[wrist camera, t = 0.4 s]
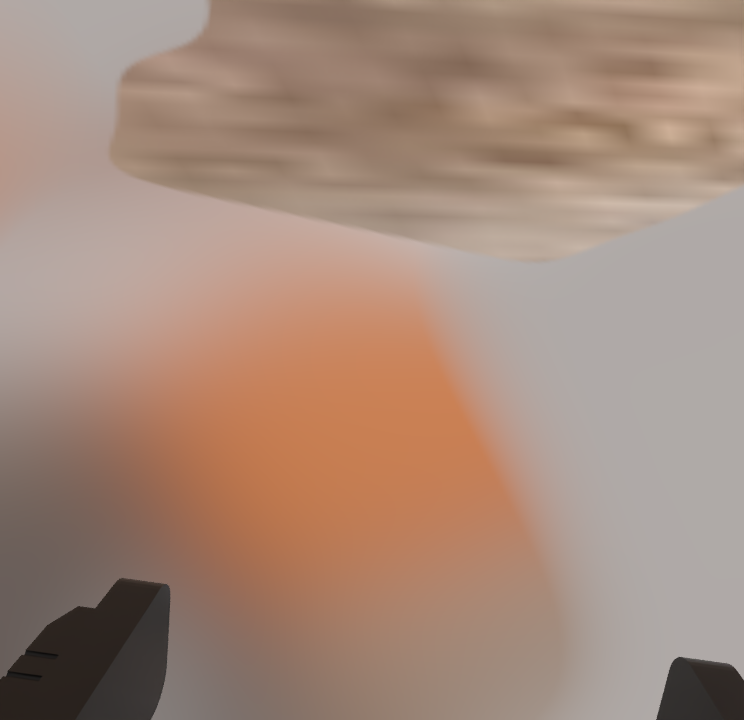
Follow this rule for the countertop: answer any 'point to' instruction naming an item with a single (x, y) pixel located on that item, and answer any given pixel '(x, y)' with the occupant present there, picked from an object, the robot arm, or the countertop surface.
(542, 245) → the countertop surface
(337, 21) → the countertop surface
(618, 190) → the countertop surface
